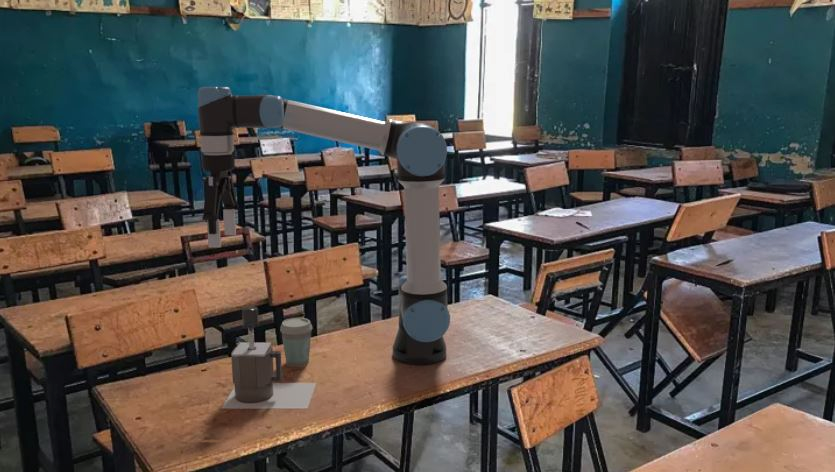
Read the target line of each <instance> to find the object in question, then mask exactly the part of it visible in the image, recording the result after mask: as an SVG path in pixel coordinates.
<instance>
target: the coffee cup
mask: <svg viewBox="0 0 835 472" xmlns="http://www.w3.org/2000/svg"><path fill="white" fill-rule="evenodd" d="M312 330H313V325H312V322H311V320H310V319H308V318H303V317H291V318H287V319H284V320H282V323H281V325H280V329H279V331H280V333H281V338H282V345H283V350H284V355H285V356H284V358H285V362H286V363H285V364H286V365H287V366H289V367H290V368H300V367H305V366H306V365H307V366H308V364H309V362H310V361H309V360H310V351H311V338H312Z"/></svg>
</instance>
